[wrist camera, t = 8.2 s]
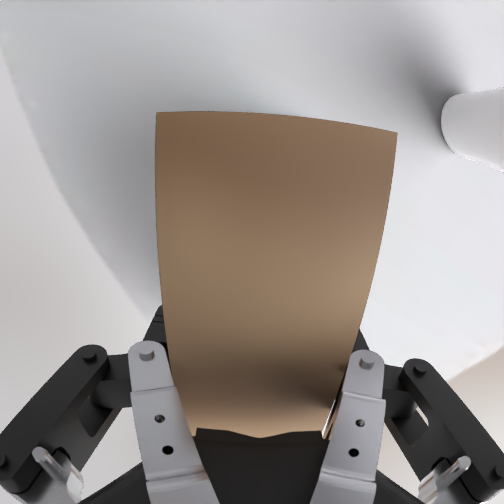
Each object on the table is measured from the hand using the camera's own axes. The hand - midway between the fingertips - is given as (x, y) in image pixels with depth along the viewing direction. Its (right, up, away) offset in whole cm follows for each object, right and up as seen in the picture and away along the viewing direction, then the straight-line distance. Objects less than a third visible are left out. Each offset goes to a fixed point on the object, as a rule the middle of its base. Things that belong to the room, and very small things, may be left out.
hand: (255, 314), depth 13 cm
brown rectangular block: (0, 0, +1) cm, 1 cm away
